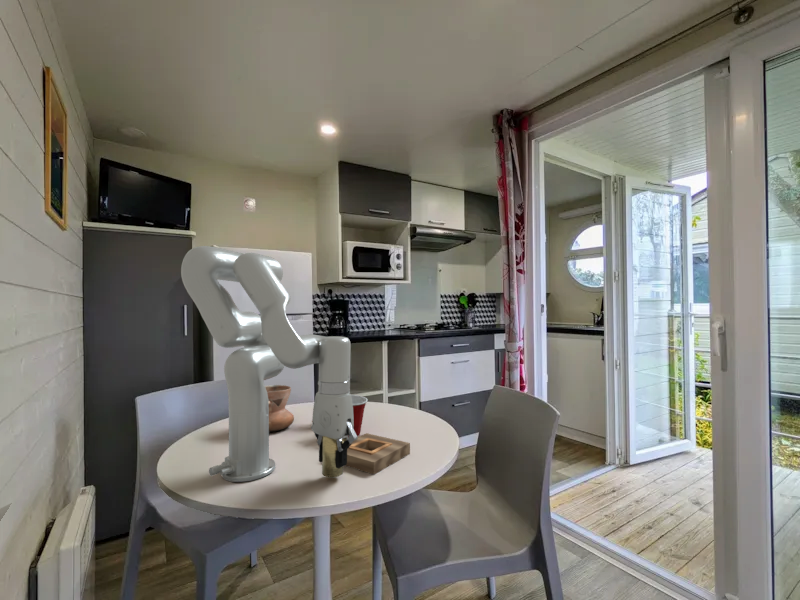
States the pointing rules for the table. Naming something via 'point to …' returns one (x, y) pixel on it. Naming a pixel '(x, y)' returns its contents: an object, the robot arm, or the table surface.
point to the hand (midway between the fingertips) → (332, 462)
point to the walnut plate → (375, 453)
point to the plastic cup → (358, 412)
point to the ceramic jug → (279, 407)
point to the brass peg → (330, 458)
